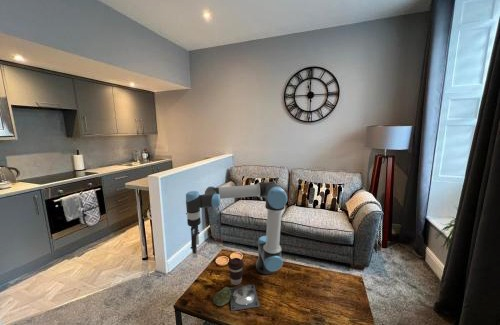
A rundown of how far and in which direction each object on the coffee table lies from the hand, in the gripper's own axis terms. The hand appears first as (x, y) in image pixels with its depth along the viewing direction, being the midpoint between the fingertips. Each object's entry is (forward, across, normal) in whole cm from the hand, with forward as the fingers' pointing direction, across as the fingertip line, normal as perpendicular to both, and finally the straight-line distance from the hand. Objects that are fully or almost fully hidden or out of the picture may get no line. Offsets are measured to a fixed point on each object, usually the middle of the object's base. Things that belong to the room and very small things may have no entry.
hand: (196, 250), depth 128 cm
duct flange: (+27, +11, +27) cm, 40 cm away
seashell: (+27, +10, +14) cm, 32 cm away
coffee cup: (+27, -3, +24) cm, 36 cm away
